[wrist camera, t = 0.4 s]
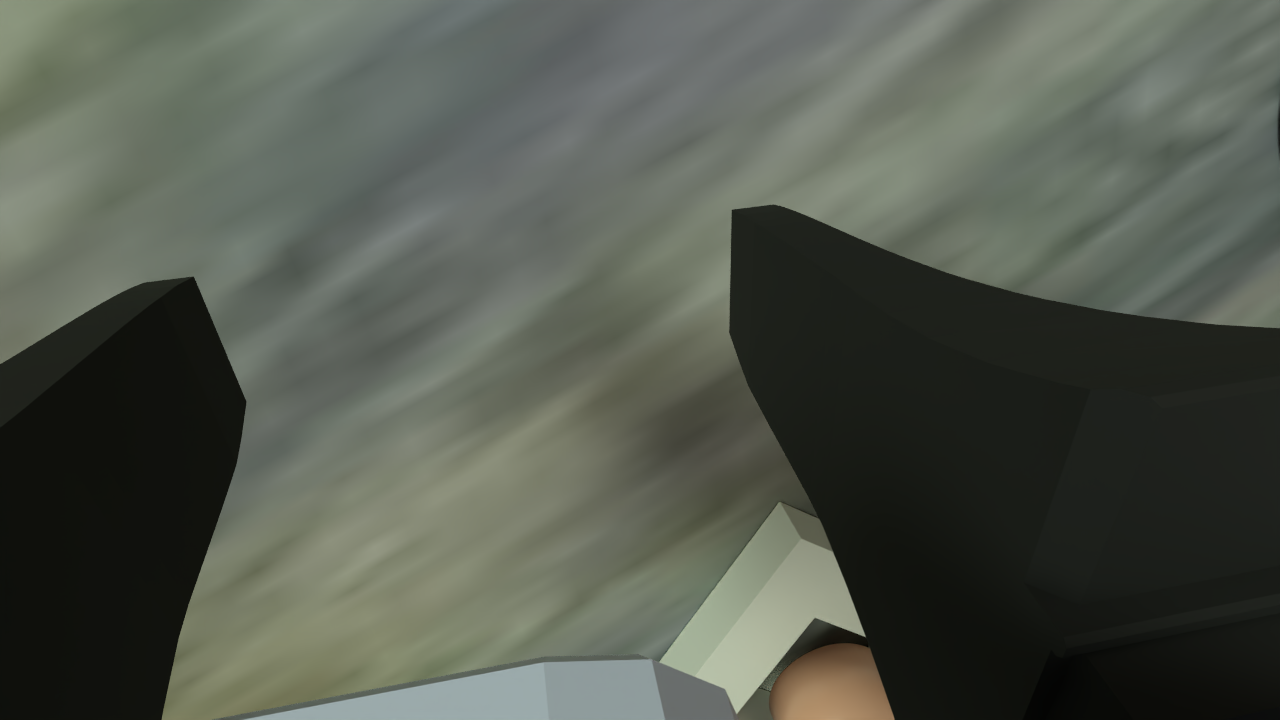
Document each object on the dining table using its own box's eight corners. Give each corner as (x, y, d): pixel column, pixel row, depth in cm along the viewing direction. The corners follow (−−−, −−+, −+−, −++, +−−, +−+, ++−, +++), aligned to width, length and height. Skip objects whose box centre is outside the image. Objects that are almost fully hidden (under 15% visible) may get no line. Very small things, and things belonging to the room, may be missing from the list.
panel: (1042, 824, 39) (1069, 865, 37) (627, 704, 30) (637, 750, 28) (1188, 682, 36) (1225, 718, 34) (779, 501, 27) (801, 538, 25)
